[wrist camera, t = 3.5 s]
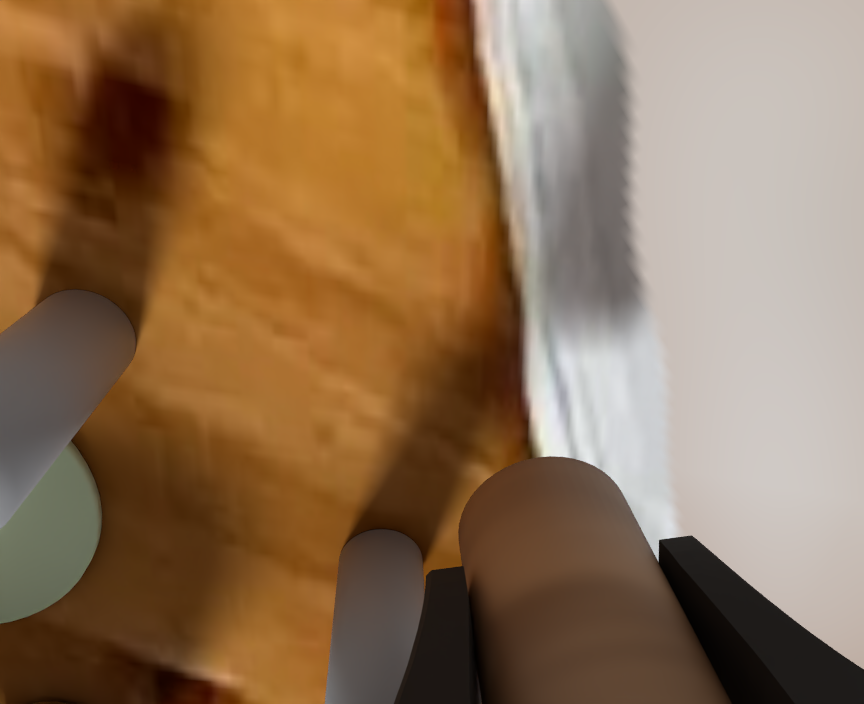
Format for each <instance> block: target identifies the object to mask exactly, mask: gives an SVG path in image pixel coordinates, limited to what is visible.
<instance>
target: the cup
mask: <svg viewBox="0 0 864 704" xmlns="http://www.w3.org/2000/svg"><path fill="white" fill-rule="evenodd" d="M32 704H68V703H62V702H53V701H46V702H36V703H32Z"/></svg>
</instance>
